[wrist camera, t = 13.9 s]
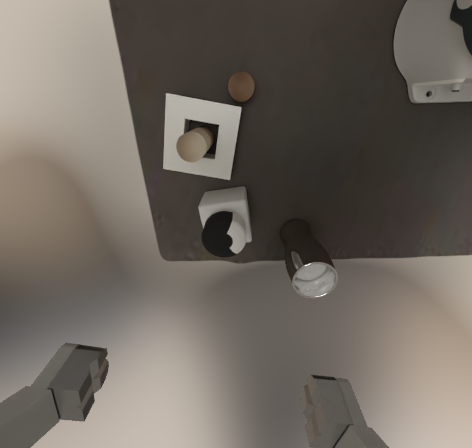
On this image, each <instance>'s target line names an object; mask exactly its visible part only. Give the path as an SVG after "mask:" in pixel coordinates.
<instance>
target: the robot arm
mask: <svg viewBox="0 0 472 448" xmlns="http://www.w3.org/2000/svg"><path fill="white" fill-rule="evenodd" d="M394 56H395V61H396V64H397V67H398V69H399V71H400V72H401V74H402V75H403V77H404V78H405V80H406V82H407V86H408V94H409V98H410V101H411V102H413V103H448V102H472V0H407V2H406V3H405V5H404V7H403V9H402V11H401V14H400V16H399V19H398V22H397V25H396V29H395V35H394ZM427 92H429V95H428V96H426V93H427ZM107 354H108V353H107V349H106V348H100V347H93V346H85V345H79V344H71V343H65V344H64V345H62V346H61V347H60V349H59V350H58V351H57V352H56V354H55V355H54V357H53V358H52V359H51V360H50V362H49V363H48V364H47V366H46V367H45V368H44V370H43V371H42V372H41V373H40V375H39V376H38V377H37V379H36V380H35V382H34V383H33V384H32V385H31V387H28V386H26V387H25V388H23V389H21V390H20V391H18V392H17V393H15V394H14V395H12V396H10V397H9V398H7V399H6V400H4V401H3V402H1V403H0V448H30V447H31V446H33V445H34V444H35V443H36V442H37V441H38V440H39V439H40V438H41V437H43V436H44V435H45V434H46V433H47V432H48V431H49V430H50V429H51V428H52V427H54V426H55V425H56V424H57V423H58V422H59V419H61V420H62V419H63V420H73V421H85V419H86V417H87V415H88V413H89V411H90V409H91V407H92V405H93V403H94V401H95V400H94V393H95V392H97V391H98V390H99V389H101V387H102V385H103V383H104V381H105V379H106V376H107V373H108V367H109V364H108V361H107V360H106V359H105V358H106V356H107ZM307 382H308V384H307V385H305V386H304V387H303V390H302V394H301V405H302V410H303V413H304V415H305V416H306V418H307V419H308V421H307V424H306V431H307V436H308V440H309V445H310V447H312V448H389V447H388V446H387V445H386V444H385V443H384V441H383V440H382V439H381V438H380V437H379V436H378V435H377V434H376V432H375V431H374V430H373V429H372V428H369V427H367V425H366V422H365V420H364V417H363V414H362V412H361V409H360V407H359V404H358V402H357V399H356V397H355V394H354V392H353V389H352V387H351V384H350V382H349V381H348V380H347V379H342V378H334V377H326V376H317V375H310V376H309V377H308V379H307Z"/></svg>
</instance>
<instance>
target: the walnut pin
mask: <svg viewBox="0 0 472 448" xmlns="http://www.w3.org/2000/svg"><path fill="white" fill-rule="evenodd" d="M228 89H229V93H230V95H231V96H232V98H233V99H235V100H236V101H238V102H244V101H247V100H248V99H249V98H250V97H251V96H252V94H253V92H254V81H253V79H252V77H251V76H250V75H249V74H248V73H246V72H242V71H240V72H237V73H235V74H234V75H232V77H231V78H230V80H229V84H228Z"/></svg>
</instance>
